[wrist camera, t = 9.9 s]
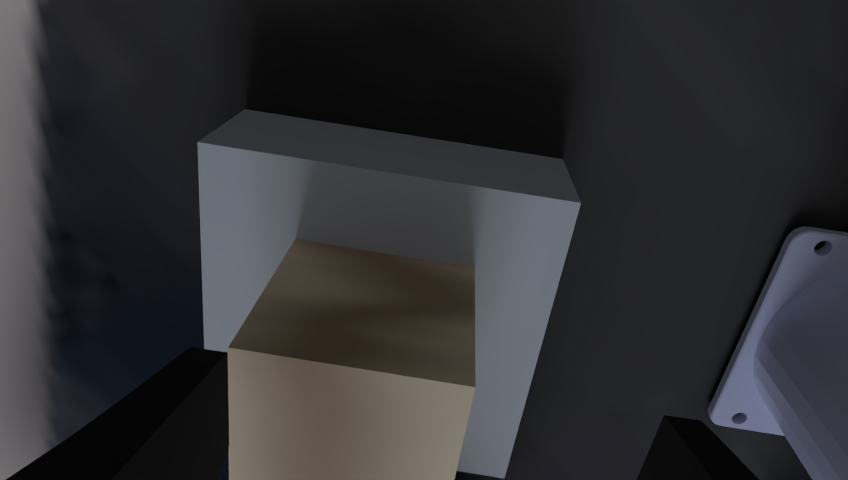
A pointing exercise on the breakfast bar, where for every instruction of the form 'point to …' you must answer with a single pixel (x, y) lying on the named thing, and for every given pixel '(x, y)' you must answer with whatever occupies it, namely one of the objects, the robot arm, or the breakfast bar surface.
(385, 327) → the maple cube
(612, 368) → the breakfast bar surface
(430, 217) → the grey base block
